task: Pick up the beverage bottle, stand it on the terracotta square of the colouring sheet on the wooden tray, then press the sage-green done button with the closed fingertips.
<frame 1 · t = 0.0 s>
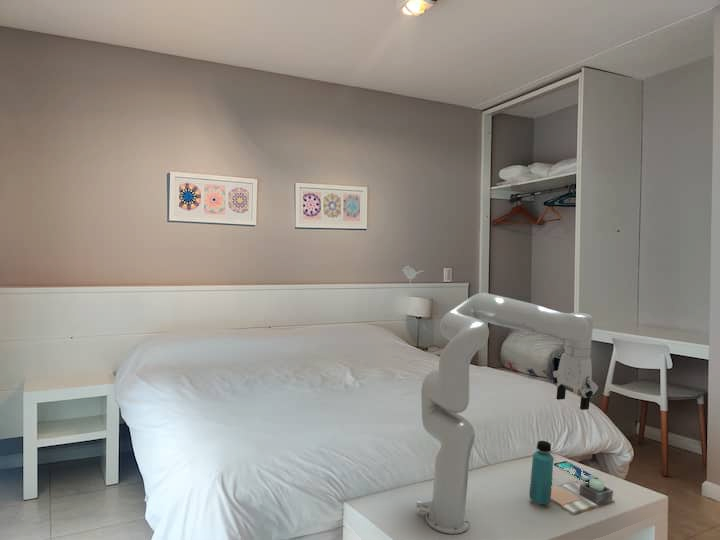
hand: (572, 404, 166), 31 cm above the bench, tool pointing down, fingers open, 9 cm apart
terracotta square: (559, 498, 167), resting on wooden tray
smartphone: (575, 473, 187), on the bench
beverage bottle: (538, 504, 163), on the bench
done button: (596, 486, 167), point 5 cm above the bench, slide at 0.0 cm
wooden tray: (575, 497, 168), on the bench
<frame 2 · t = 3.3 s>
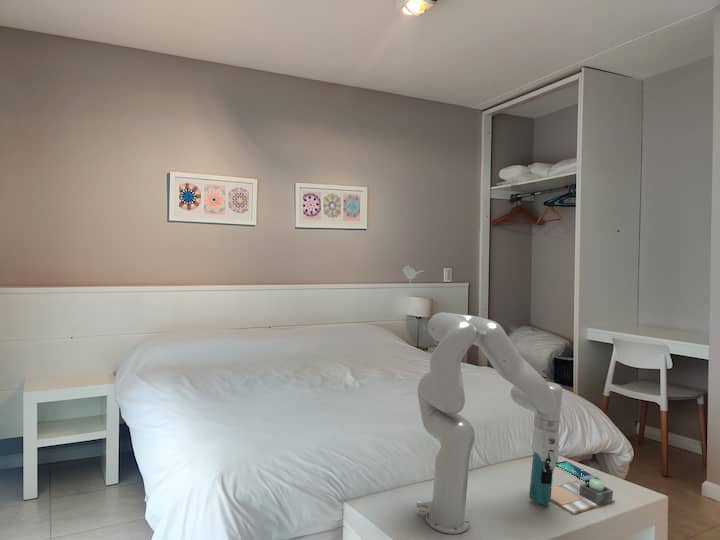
hand: (541, 477, 162), 9 cm above the bench, tool pointing down, fingers closed on beverage bottle, 6 cm apart
beverage bottle: (538, 504, 163), on the bench, touching gripper
everything else where it was.
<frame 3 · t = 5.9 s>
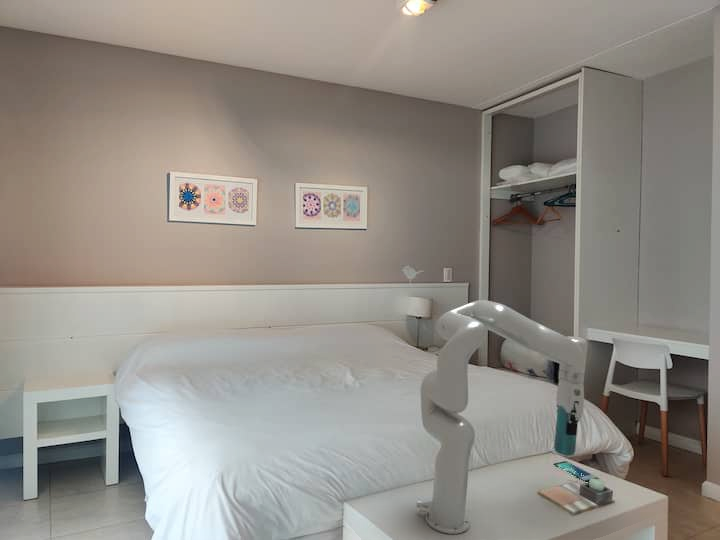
hand: (566, 429, 166), 23 cm above the bench, tool pointing down, fingers closed on beverage bottle, 6 cm apart
beverage bottle: (563, 456, 166), point 14 cm above the bench, touching gripper
everything else where it was.
when the fingers open (10 cm above the bench, at t = 9.0 s): beverage bottle stays where it is, resting on terracotta square.
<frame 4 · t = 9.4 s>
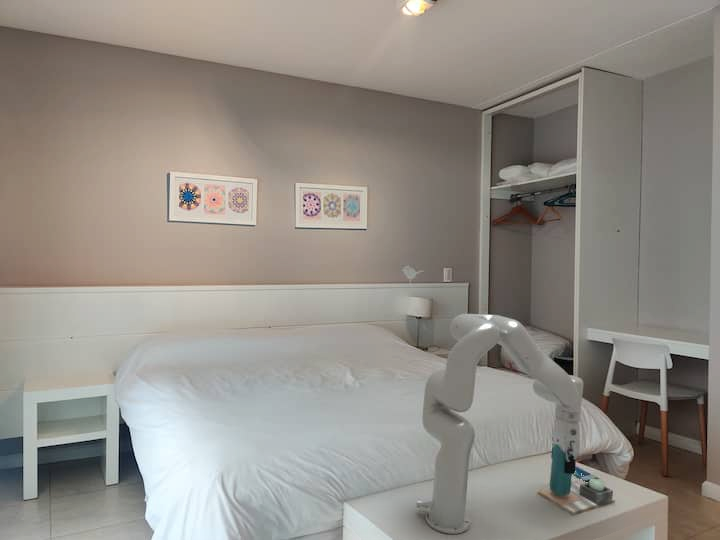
hand: (562, 466, 167), 11 cm above the bench, tool pointing down, fingers open, 9 cm apart
beverage bottle: (559, 495, 167), point 1 cm above the bench, touching terracotta square
everything else where it was.
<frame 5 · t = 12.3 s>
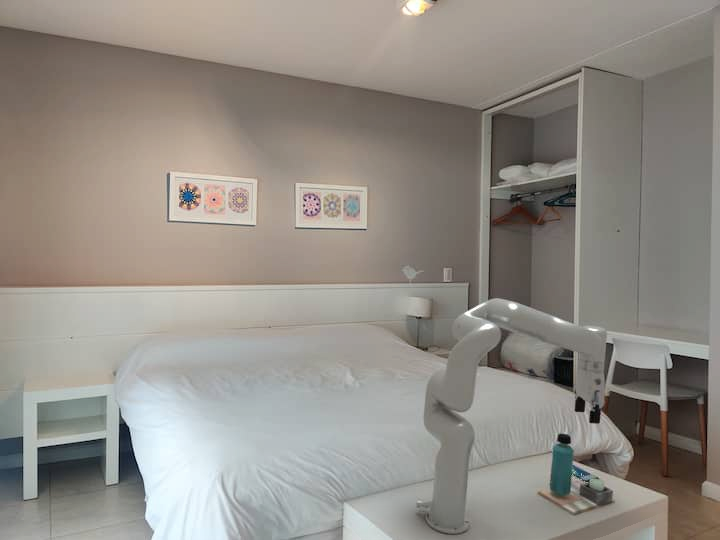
hand: (586, 417, 166), 27 cm above the bench, tool pointing down, fingers open, 9 cm apart
nothing on the bench moved.
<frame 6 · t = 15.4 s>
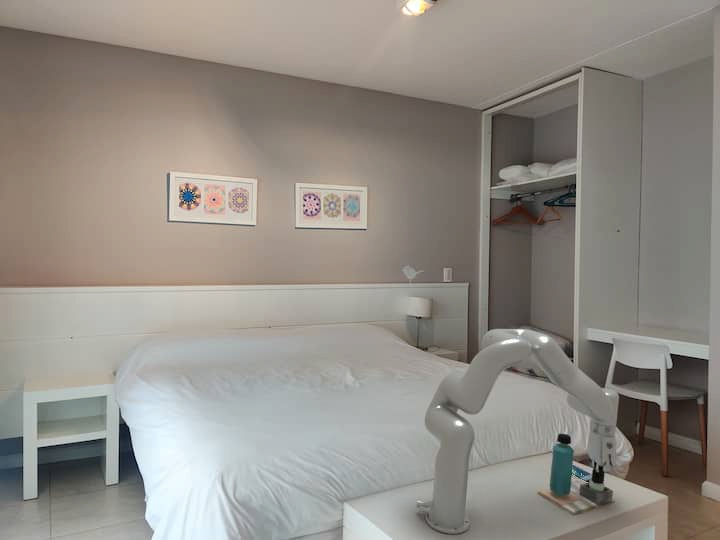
hand: (597, 482, 167), 6 cm above the bench, tool pointing down, fingers closed
done button: (596, 486, 167), point 4 cm above the bench, slide at 0.3 cm, touching gripper
everything else where it was.
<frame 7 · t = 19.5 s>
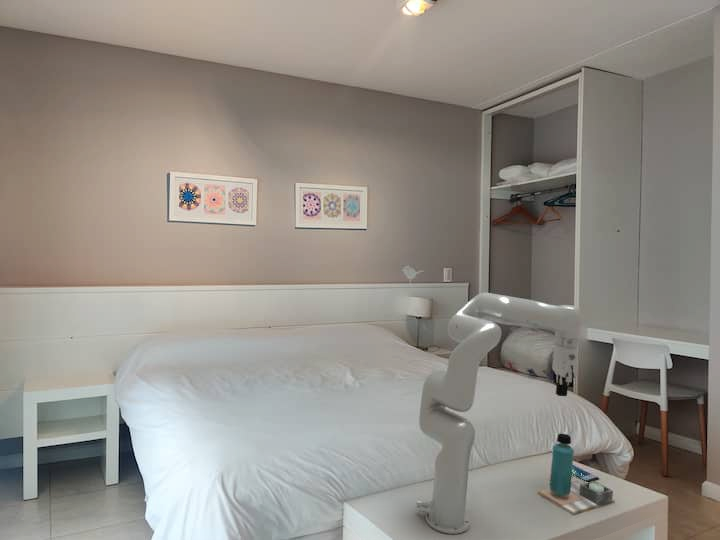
hand: (561, 395, 175), 31 cm above the bench, tool pointing down, fingers closed
done button: (596, 490, 168), point 3 cm above the bench, slide at 1.5 cm
everything else where it was.
at the end: beverage bottle 0.2 cm from the terracotta square (horizontally); beverage bottle tilted 0°; done button slide at 1.5 cm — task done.
